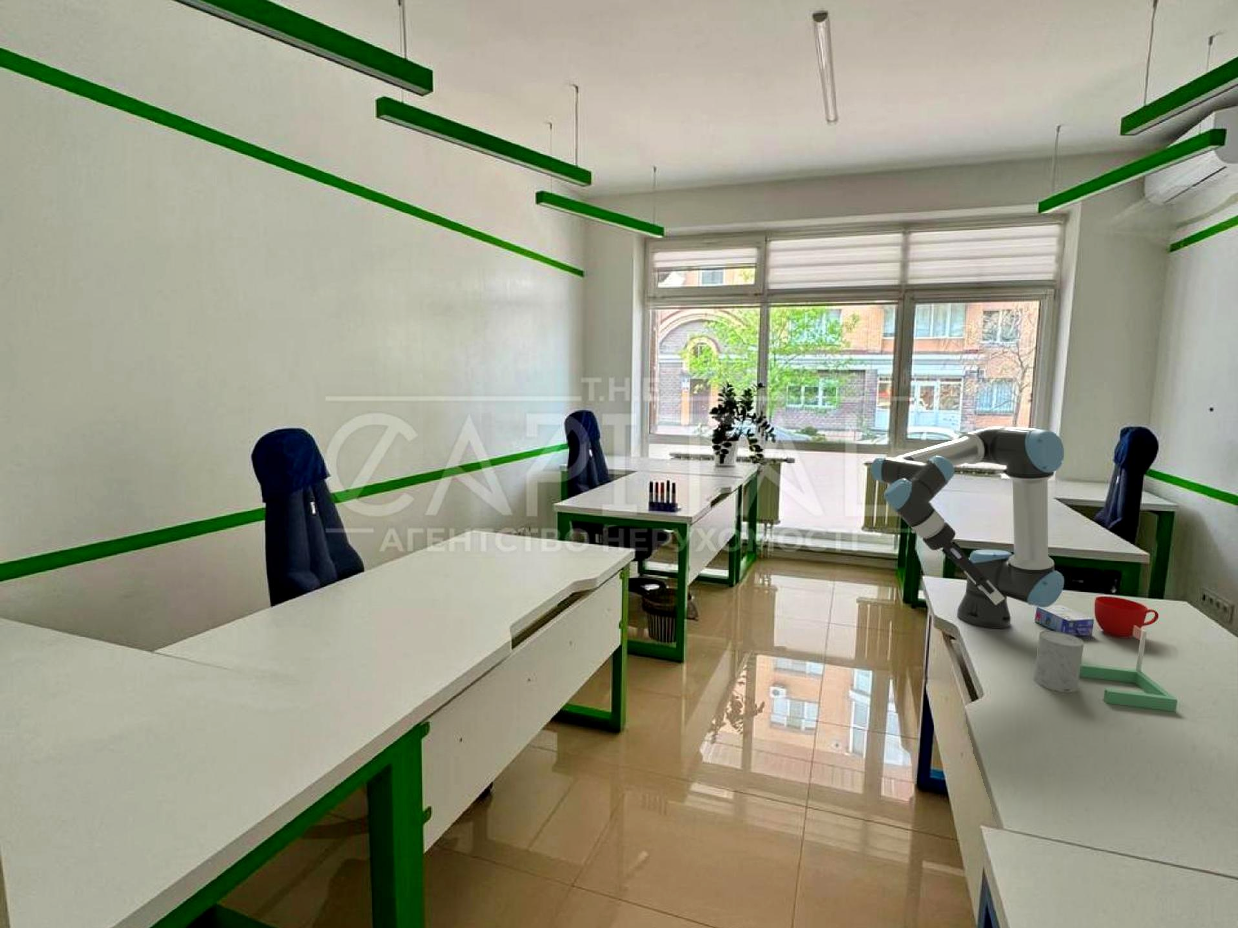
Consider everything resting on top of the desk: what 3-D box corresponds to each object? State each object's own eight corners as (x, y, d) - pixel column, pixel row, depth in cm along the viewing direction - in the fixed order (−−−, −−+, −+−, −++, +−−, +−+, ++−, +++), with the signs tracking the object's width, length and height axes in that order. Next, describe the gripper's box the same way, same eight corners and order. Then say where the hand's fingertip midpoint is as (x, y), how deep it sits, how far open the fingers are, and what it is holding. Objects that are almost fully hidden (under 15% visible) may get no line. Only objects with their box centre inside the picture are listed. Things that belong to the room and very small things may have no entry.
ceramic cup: (1167, 646, 192) (1172, 614, 191) (1104, 639, 196) (1108, 608, 194) (1142, 629, 205) (1146, 599, 204) (1082, 624, 208) (1086, 594, 207)
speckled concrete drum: (1077, 696, 159) (1083, 649, 157) (1031, 684, 165) (1037, 638, 163) (1078, 682, 167) (1084, 637, 165) (1035, 671, 172) (1040, 627, 171)
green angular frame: (1069, 667, 175) (1076, 618, 173) (1130, 674, 172) (1138, 625, 170) (1106, 702, 156) (1114, 648, 154) (1175, 711, 153) (1184, 655, 151)
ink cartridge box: (1033, 622, 209) (1072, 639, 194) (1035, 606, 208) (1074, 622, 194) (1059, 621, 210) (1100, 637, 196) (1061, 604, 210) (1102, 620, 196)
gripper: (911, 529, 180) (966, 588, 178) (932, 550, 157) (995, 618, 156) (934, 512, 178) (989, 572, 177) (958, 531, 155) (1022, 600, 154)
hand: (992, 593), depth 166 cm, fingers open, 11 cm apart
